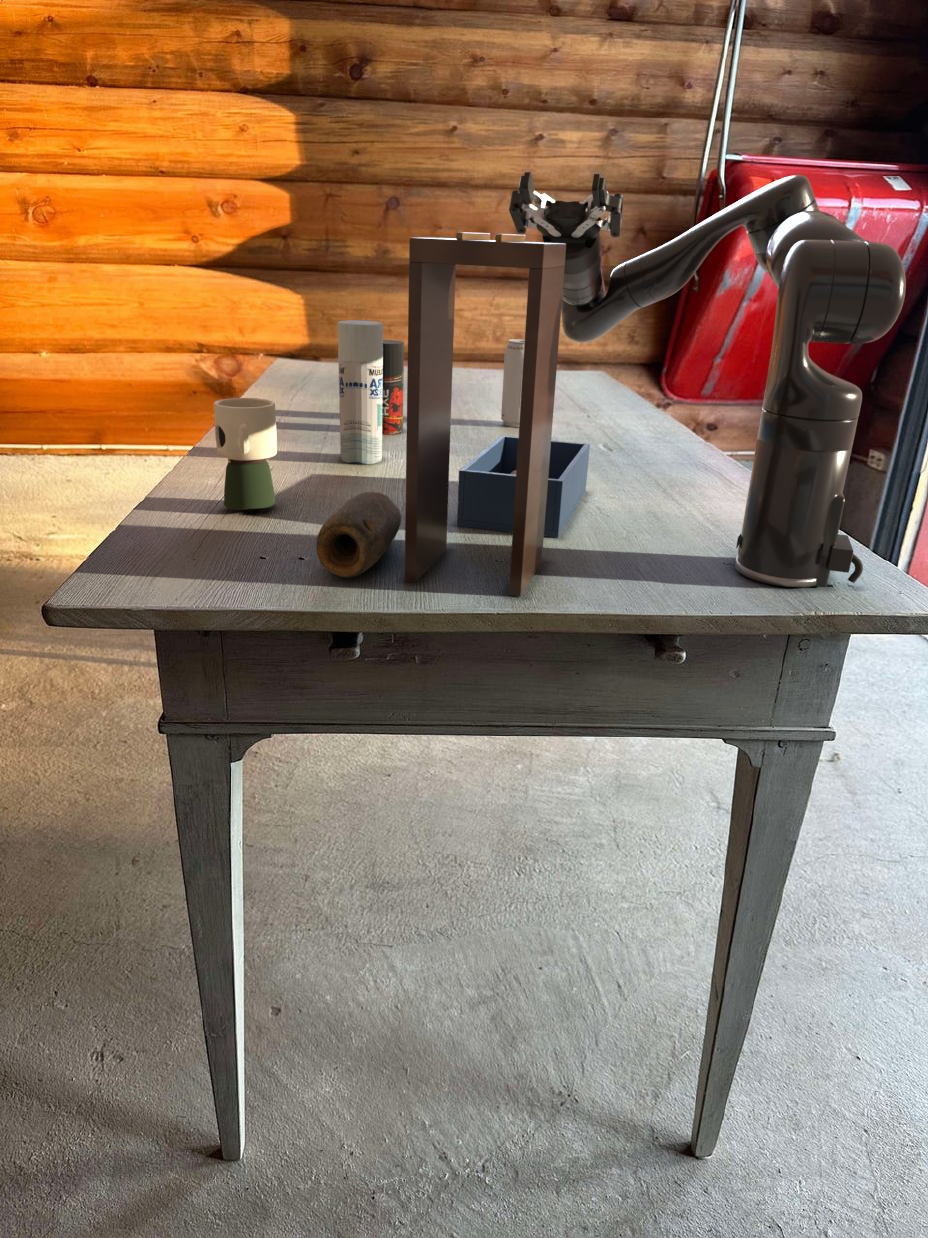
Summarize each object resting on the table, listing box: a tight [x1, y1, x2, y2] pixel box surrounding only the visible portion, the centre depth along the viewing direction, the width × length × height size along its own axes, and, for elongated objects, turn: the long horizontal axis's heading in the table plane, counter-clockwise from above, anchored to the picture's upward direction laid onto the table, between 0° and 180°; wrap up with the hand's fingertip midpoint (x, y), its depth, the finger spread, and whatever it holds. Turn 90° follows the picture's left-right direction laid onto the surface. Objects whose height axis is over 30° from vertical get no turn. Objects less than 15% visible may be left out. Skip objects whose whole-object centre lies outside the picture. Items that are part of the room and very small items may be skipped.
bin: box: [456, 435, 591, 539], centre depth 117 cm, size 12×22×7 cm, turn 164°
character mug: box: [213, 397, 278, 513], centre depth 110 cm, size 11×7×13 cm, turn 9°
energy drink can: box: [500, 338, 525, 428], centre depth 166 cm, size 6×6×15 cm
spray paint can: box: [337, 319, 384, 465], centre depth 135 cm, size 6×6×20 cm
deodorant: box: [382, 339, 405, 435], centre depth 157 cm, size 6×6×15 cm
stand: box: [403, 231, 566, 598], centre depth 89 cm, size 12×11×33 cm
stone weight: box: [315, 491, 402, 579], centre depth 96 cm, size 15×7×7 cm, turn 176°
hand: (561, 178), depth 110 cm, fingers open, 8 cm apart
